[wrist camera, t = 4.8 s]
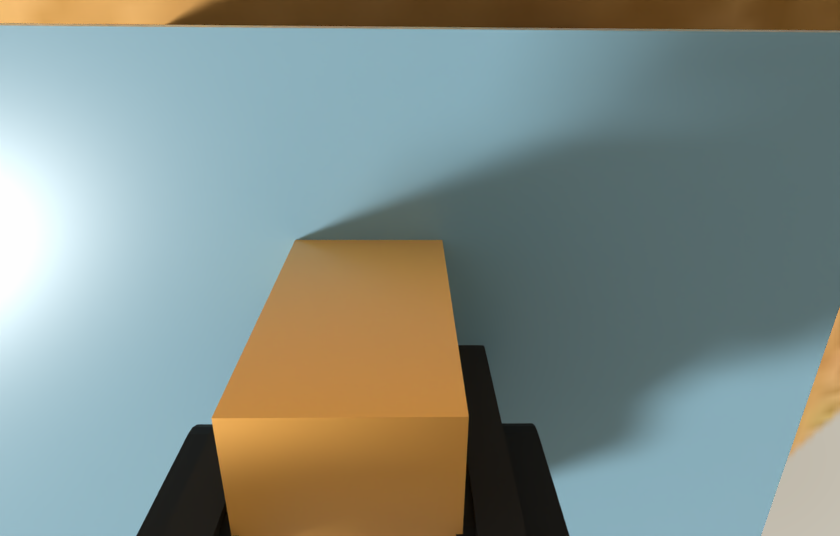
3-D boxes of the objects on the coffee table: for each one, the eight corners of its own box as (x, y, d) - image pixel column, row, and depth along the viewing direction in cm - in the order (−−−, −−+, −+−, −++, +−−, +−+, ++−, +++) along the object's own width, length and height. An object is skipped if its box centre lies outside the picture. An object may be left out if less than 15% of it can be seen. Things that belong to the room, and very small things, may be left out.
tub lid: (839, 27, 10) (1430, 62, 4) (696, 538, 15) (877, 873, 9) (-116, 19, 10) (-894, 43, 4) (62, 545, 15) (-162, 899, 9)
